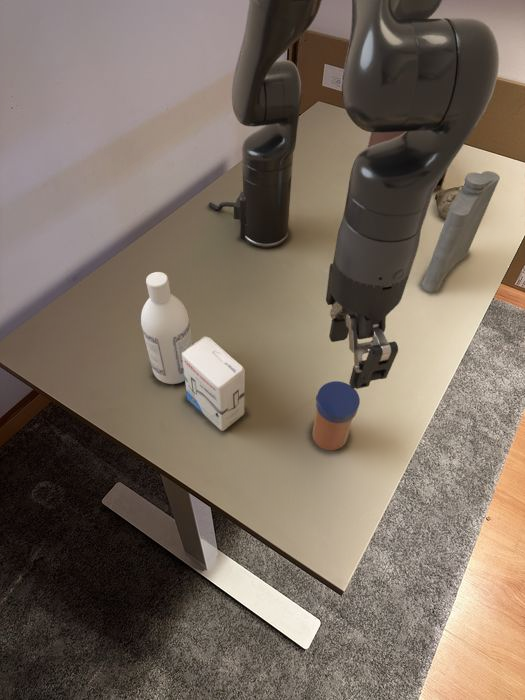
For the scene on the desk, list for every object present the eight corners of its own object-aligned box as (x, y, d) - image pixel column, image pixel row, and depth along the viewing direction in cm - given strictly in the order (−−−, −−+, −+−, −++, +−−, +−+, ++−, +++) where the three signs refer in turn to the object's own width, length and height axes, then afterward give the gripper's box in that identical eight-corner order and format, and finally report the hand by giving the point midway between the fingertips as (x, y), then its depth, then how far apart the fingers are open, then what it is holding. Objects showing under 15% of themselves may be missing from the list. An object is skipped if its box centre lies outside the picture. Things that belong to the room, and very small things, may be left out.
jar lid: (311, 417, 68) (312, 410, 67) (320, 384, 71) (321, 376, 70) (354, 428, 67) (356, 421, 66) (360, 393, 71) (362, 386, 69)
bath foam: (195, 350, 85) (183, 260, 70) (195, 383, 81) (182, 295, 65) (153, 353, 85) (132, 262, 69) (152, 386, 80) (128, 298, 65)
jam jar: (308, 445, 74) (315, 411, 67) (316, 416, 78) (323, 380, 70) (343, 454, 74) (353, 420, 66) (349, 424, 77) (359, 389, 69)
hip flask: (434, 294, 95) (470, 204, 79) (414, 285, 96) (446, 194, 81) (469, 252, 103) (508, 162, 87) (450, 244, 104) (485, 154, 89)
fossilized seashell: (473, 219, 106) (476, 201, 113) (465, 190, 103) (469, 173, 110) (436, 229, 110) (441, 210, 117) (428, 201, 107) (434, 183, 114)
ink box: (186, 398, 79) (177, 352, 70) (210, 380, 81) (205, 333, 72) (222, 433, 75) (218, 388, 66) (246, 413, 78) (246, 368, 69)
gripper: (313, 217, 52) (301, 324, 65) (364, 315, 44) (338, 416, 57) (380, 207, 54) (355, 314, 66) (443, 301, 45) (400, 403, 58)
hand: (347, 361), depth 61 cm, fingers open, 6 cm apart
